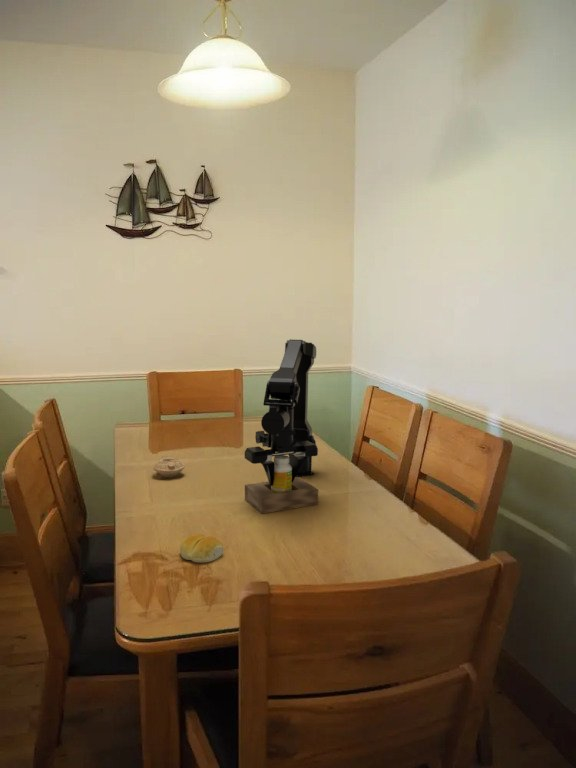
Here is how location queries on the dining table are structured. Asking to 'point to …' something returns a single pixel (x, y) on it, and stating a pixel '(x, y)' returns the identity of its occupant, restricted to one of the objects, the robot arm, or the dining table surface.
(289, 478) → the supplement bottle
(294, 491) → the walnut holder
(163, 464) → the pottery oil lamp
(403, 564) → the dining table surface
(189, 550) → the bread roll
